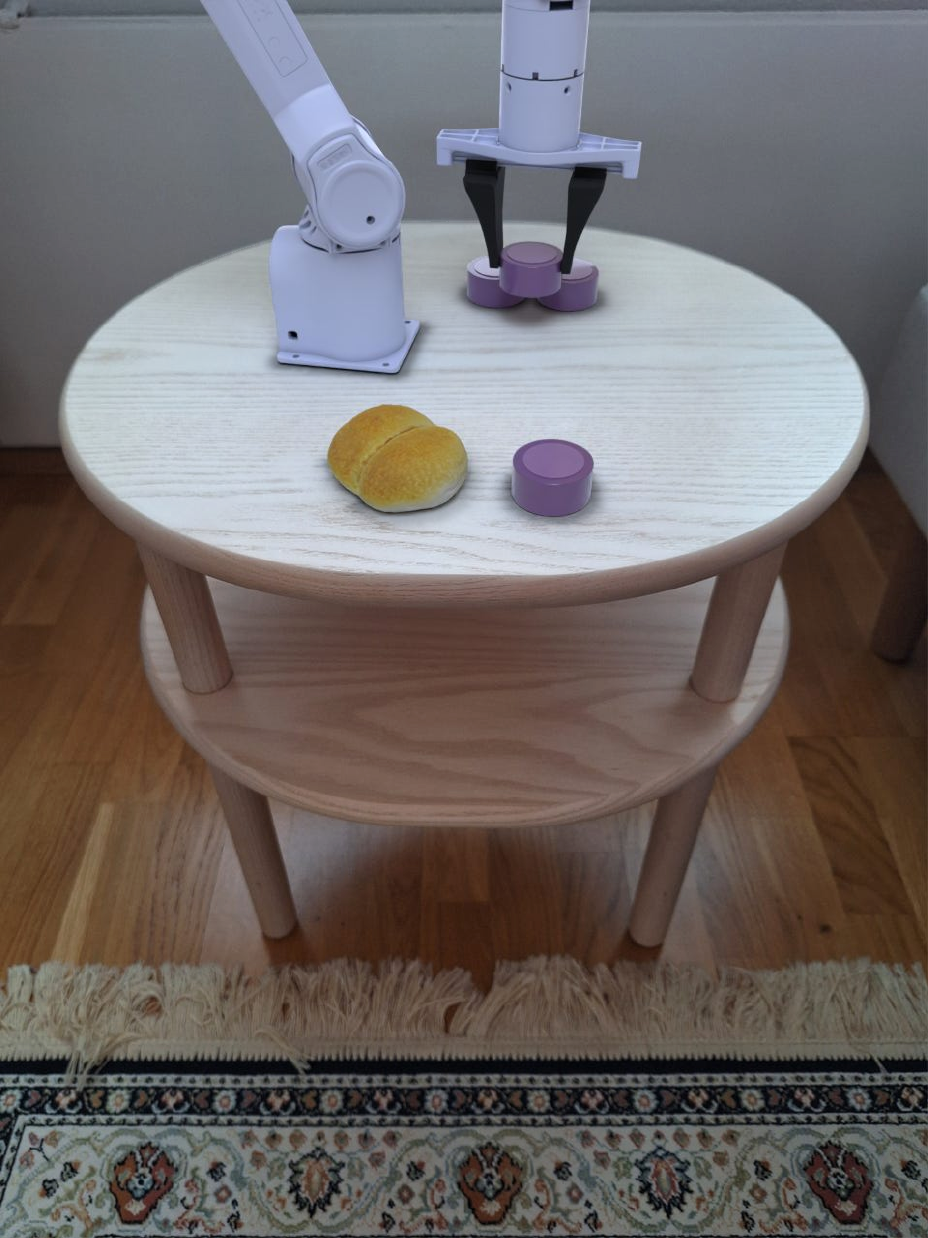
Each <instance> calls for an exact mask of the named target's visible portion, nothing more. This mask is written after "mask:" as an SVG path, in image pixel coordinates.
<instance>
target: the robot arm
mask: <svg viewBox="0 0 928 1238" xmlns="http://www.w3.org/2000/svg"><path fill="white" fill-rule="evenodd" d="M199 1H200V4H201V5H202V6H203V8H204V10H205V11H206V13H207V14H208V16H209V18H210V19H211V21H212V22H213V25H214V26H215V28H216V30H217V31H218V32H219V34H220V36H221V37H222V39H223V41H224V42H225V44H226V46H227V47H228V50H229V51H230V53H231V54H232V55H233V58H234V59H235V61H236V62H237V64H238V65H239V67H240V69H241V71H242V72H243V74H244V75H245V77H246V78H247V81H248V82H249V84H250V85H251V87H252V89H253V91H254V92H255V94H256V95H257V97H258V99H259V101H261V103H262V105H263V107H264V108H265V110H266V111H267V113H268V115H269V116H270V118H271V120H272V121H273V123H274V125H275V127H276V128H277V130H278V132H279V134H280V135H281V137H282V139H283V140H284V142H285V144H286V146H287V148H288V149H289V155H290V156H289V157H290V165H291V170H292V174H293V176H294V179H295V182H296V183H297V185H298V186H299V187H300V190H302V191H303V194H304V196H305V198H306V199H307V201H308V203H307V204H306V206H305V209H304V211H303V213H302V216H301V220H299V221H298V224H294V225H293V224H292V225H289V224H288V225H281V226H280V227H278V228H277V230H276V231H275V232H274V235H273V238H272V240H271V243H270V247H269V248H270V249H269V256H268V277H269V278H268V279H269V286H270V292H271V293H270V294H271V300H272V307H273V313H274V320H275V327H276V334H277V340H278V341H277V342H278V349H279V351H278V353H277V355H276V359H277V362H279V363H281V364H282V363H283V364H293V365H302V366H303V365H304V366H314V367H322V368H323V367H324V368H333V369H334V368H335V369H336V368H337V369H345V370H354V371H355V370H356V371H366V372H377V373H389V374H395V373H397V372H399V371H400V370H401V367H402V365H403V364H404V361H405V358H406V356H407V355H408V353H409V350H410V348H411V346H412V344H413V342H414V340H415V338H416V336H417V334H418V332H419V330H420V323H421V322H420V321H418V320H416V319H406V318H405V297H404V296H405V295H404V292H405V291H404V273H403V254H402V251H403V250H402V232H401V221H402V219H403V216H404V213H405V209H406V201H407V197H406V188H405V184H404V181H403V178H402V176H401V174H400V172H399V170H398V169H397V168H396V166H395V165H394V163H393V162H391V161H390V160H389V159H388V158H387V157H385V155H384V154H383V153H382V151H381V150H380V148H379V147H378V146H377V143H376V141H375V139H374V137H373V135H372V134H371V132H370V131H369V129H368V128H367V127H366V125H364V124H363V122H361V120H359V119H357V118H356V117H354V116H353V115H351V114H350V111H349V110H348V109H347V106H345V103H344V102H343V100H342V98H341V96H340V95H339V93H338V92H337V89H336V88H335V87H334V85H333V83H332V81H331V80H330V78H329V76H328V74H327V72H326V70H325V69H324V66H323V65H322V63H321V61H320V59H319V58H318V56H317V54H316V52H315V50H314V48H313V46H312V45H311V43H310V41H309V39H308V37H307V35H306V34H305V31H304V30H303V28H302V26H301V24H300V23H299V21H298V19H297V16H296V15H295V13H294V12H293V10H292V8H291V6H290V5H289V3H288V0H199ZM501 3H502V4H501V41H500V42H501V43H500V44H501V45H500V72H499V73H500V75H499V77H500V78H499V109H498V110H499V114H498V127H494V128H493V127H491V128H469V129H467V128H466V129H449V128H448V129H447V128H442V129H441V130H440V132H439V133H438V134H437V136H436V137H435V139H436V165H437V166H442V167H450V166H453V164H460V165H461V164H462V165H465V169H464V175H463V178H462V184H463V188H464V191H465V193H466V196H467V197H468V199H469V201H470V203H471V205H472V207H473V209H474V212H475V214H476V216H477V218H478V222H479V225H480V227H481V231H482V233H483V238H484V241H485V246H486V250H487V256H488V257H489V265H490V268H497V269H498V268H499V257H500V252H501V250H502V248H504V225H503V224H504V223H503V222H504V219H503V208H504V193H505V179H506V170H507V169H506V168H519V169H535V170H548V171H549V170H550V171H564V172H565V171H566V172H572V174H571V177H570V179H569V182H568V187H567V207H566V208H567V210H566V225H565V226H566V228H565V239H564V245H563V250H562V251H563V256H562V263H561V274H570V273H571V269H572V265H573V259H575V252H576V249H577V246H578V244H579V241H580V239H581V236H582V233H583V232H584V229H585V226H586V225H587V223H588V220H589V218H590V216H591V215H592V213H593V211H594V209H595V208H596V206H597V204H598V202H599V201H600V198H601V196H602V194H603V192H604V190H605V186H606V181H607V177H608V175H620V176H621V177H622V178H624V179H633V180H635V179H636V180H637V178H638V175H639V167H640V160H641V150H642V143H643V142H642V141H639V140H638V141H637V140H626V139H619V138H612V137H608V136H602V135H597V134H593V133H587V132H586V133H585V132H581V131H580V130H581V129H580V128H581V117H582V103H583V93H584V80H585V70H586V58H587V47H588V46H587V45H588V34H589V32H588V31H589V22H590V7H591V0H502V2H501Z"/></svg>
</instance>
